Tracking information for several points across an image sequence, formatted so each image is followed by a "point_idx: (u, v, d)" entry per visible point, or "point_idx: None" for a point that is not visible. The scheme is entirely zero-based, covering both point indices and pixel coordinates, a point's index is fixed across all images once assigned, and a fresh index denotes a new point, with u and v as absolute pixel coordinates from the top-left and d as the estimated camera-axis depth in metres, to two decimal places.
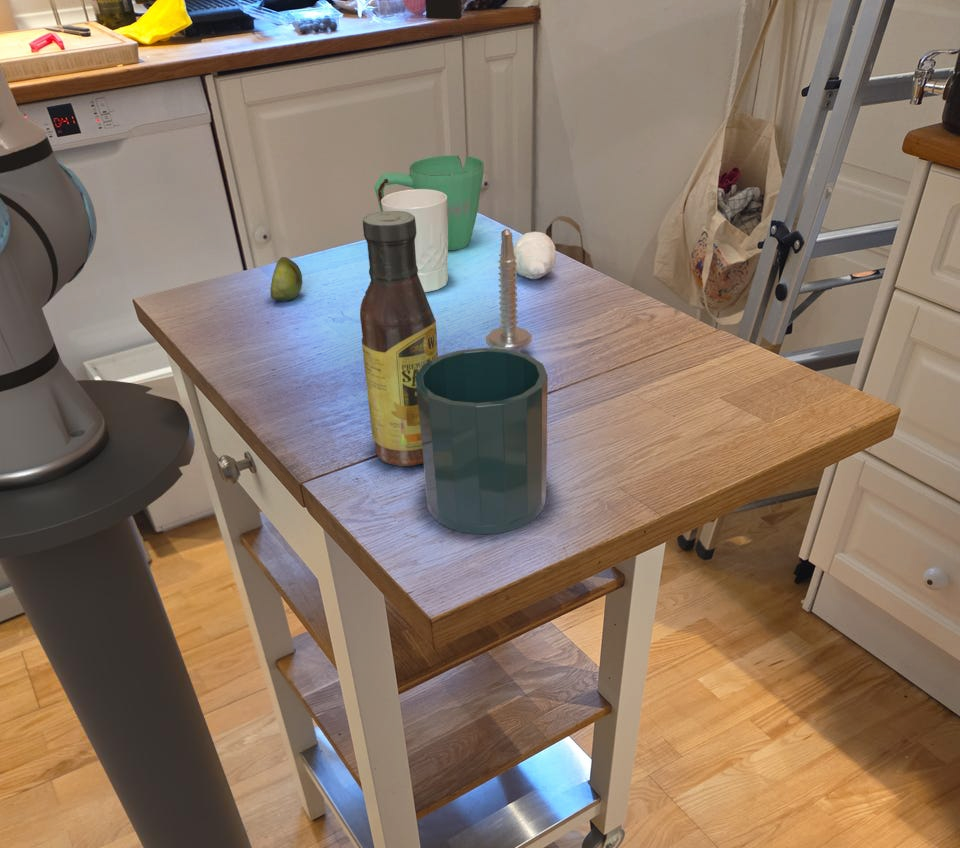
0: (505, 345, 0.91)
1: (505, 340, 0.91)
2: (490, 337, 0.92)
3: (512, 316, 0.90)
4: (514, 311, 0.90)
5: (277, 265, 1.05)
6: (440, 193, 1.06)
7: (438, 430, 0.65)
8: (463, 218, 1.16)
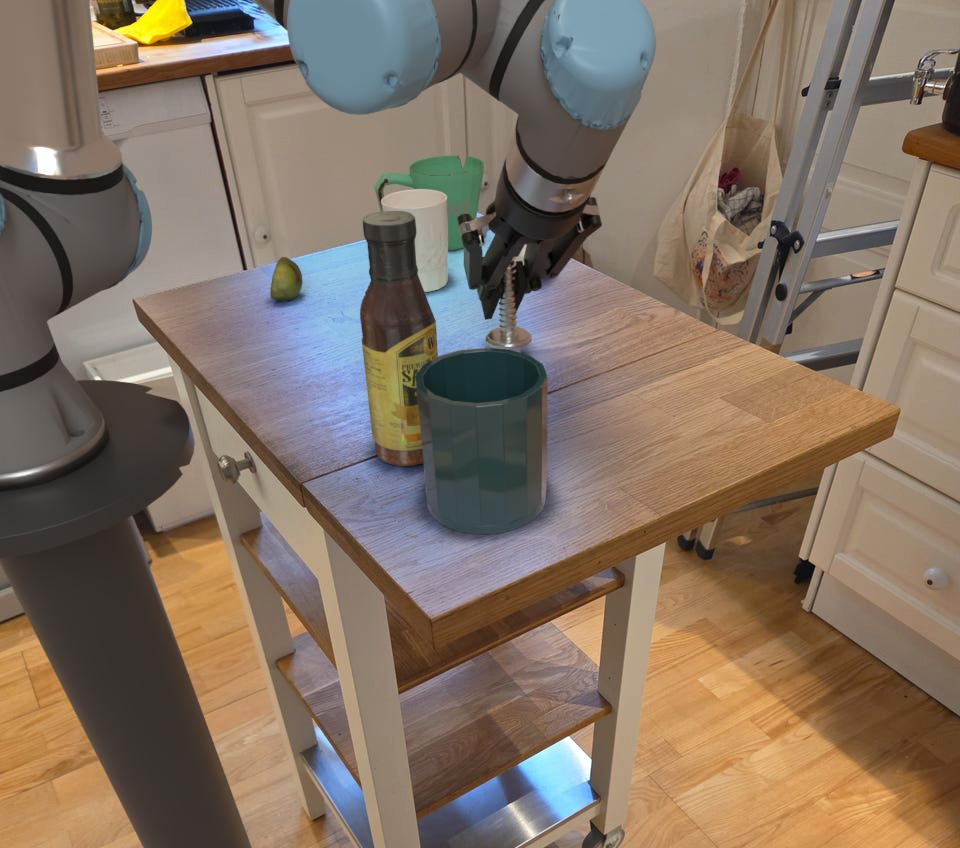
0: (505, 345, 0.91)
1: (505, 340, 0.91)
2: (490, 337, 0.92)
3: (511, 316, 0.90)
4: (514, 311, 0.90)
5: (277, 265, 1.05)
6: (440, 193, 1.06)
7: (438, 430, 0.65)
8: None
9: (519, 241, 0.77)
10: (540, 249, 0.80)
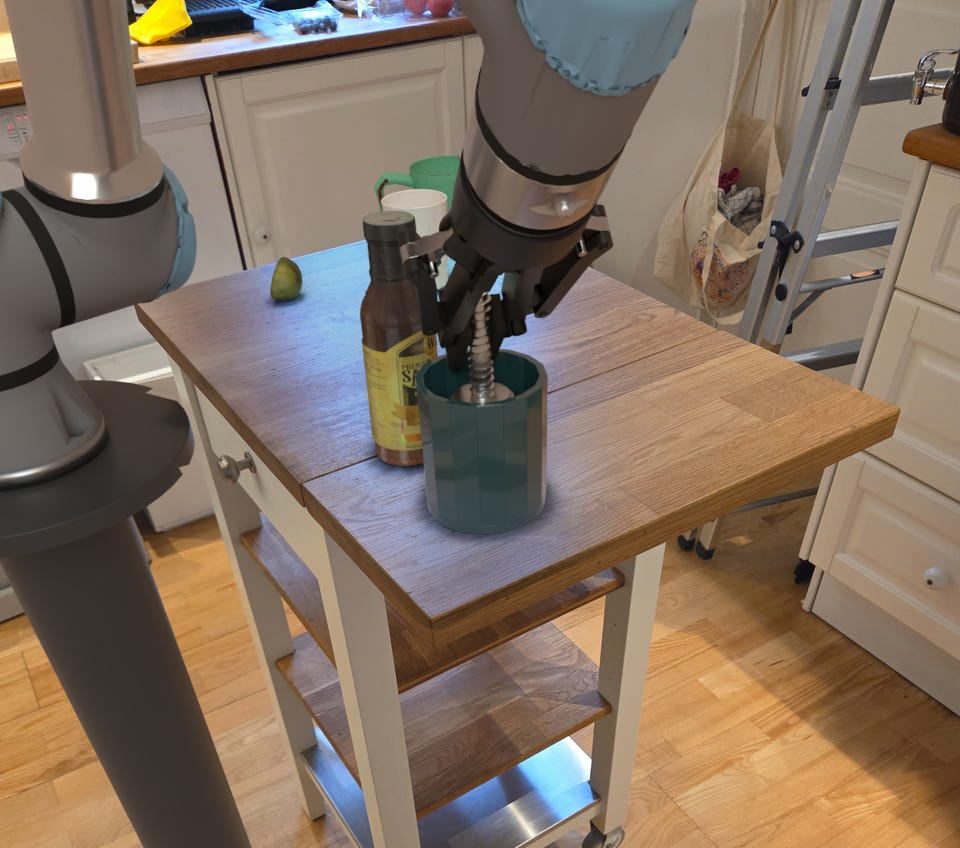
0: None
1: (477, 402, 0.66)
2: (456, 397, 0.66)
3: (486, 370, 0.65)
4: (489, 362, 0.64)
5: (277, 265, 1.05)
6: (440, 193, 1.06)
7: (438, 430, 0.65)
8: None
9: (490, 271, 0.51)
10: (522, 281, 0.54)
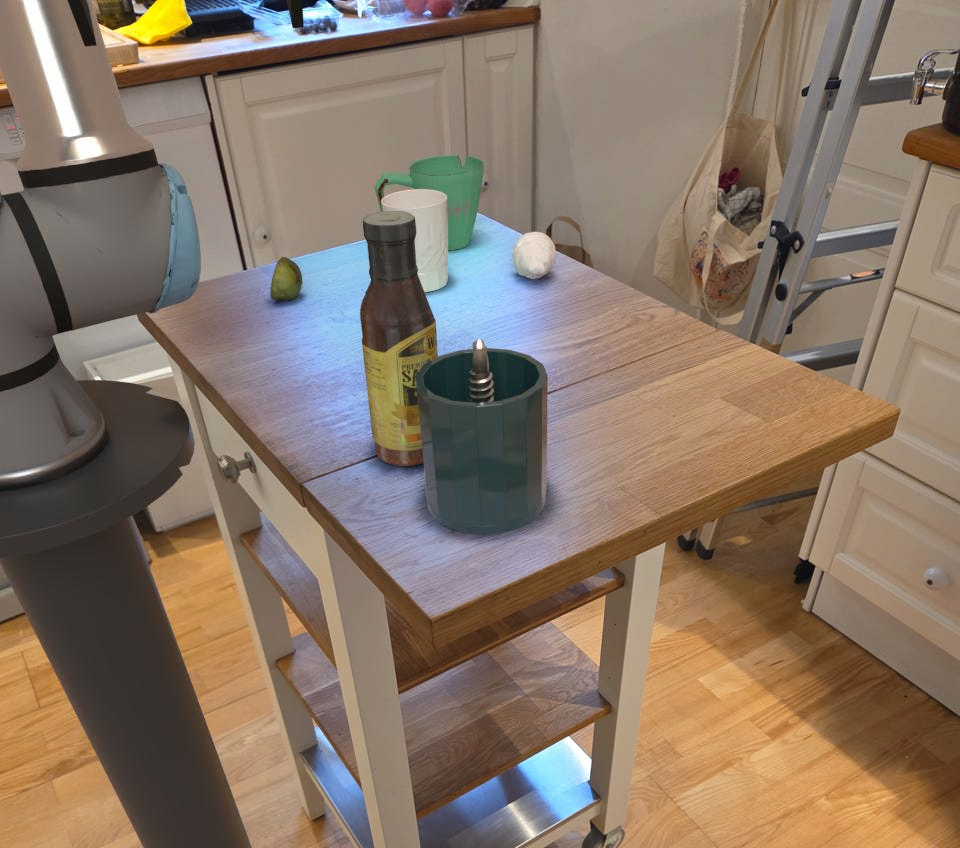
0: None
1: None
2: None
3: None
4: None
5: (277, 265, 1.05)
6: (440, 193, 1.06)
7: (438, 430, 0.65)
8: (463, 218, 1.16)
9: None
10: None
